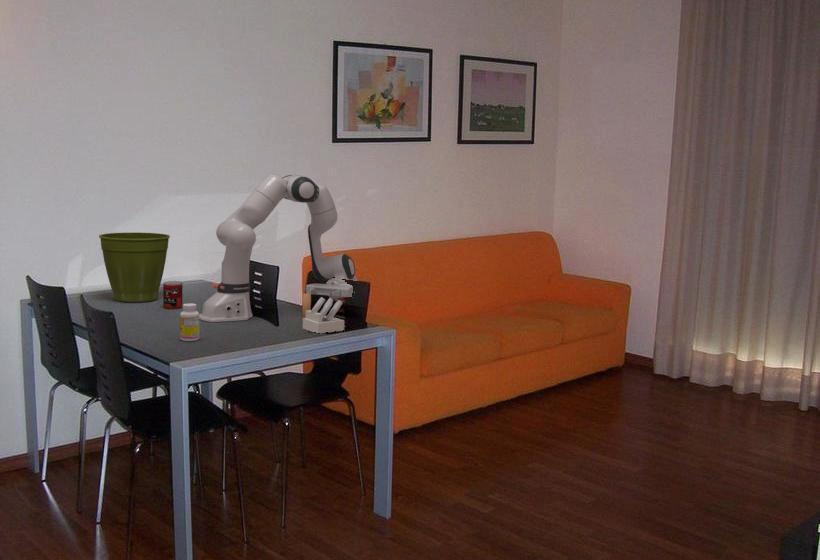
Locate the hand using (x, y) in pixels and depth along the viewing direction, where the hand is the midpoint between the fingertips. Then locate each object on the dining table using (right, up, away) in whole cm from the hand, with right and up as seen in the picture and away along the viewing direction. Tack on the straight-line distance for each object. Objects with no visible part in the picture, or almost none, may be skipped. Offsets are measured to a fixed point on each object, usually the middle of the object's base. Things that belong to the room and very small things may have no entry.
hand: (321, 293), depth 352 cm
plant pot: (-86, -3, +28) cm, 90 cm away
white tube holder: (+3, -14, -20) cm, 24 cm away
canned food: (-65, -7, +12) cm, 66 cm away
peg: (-5, -12, -10) cm, 16 cm away
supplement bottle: (-43, -16, -46) cm, 65 cm away
